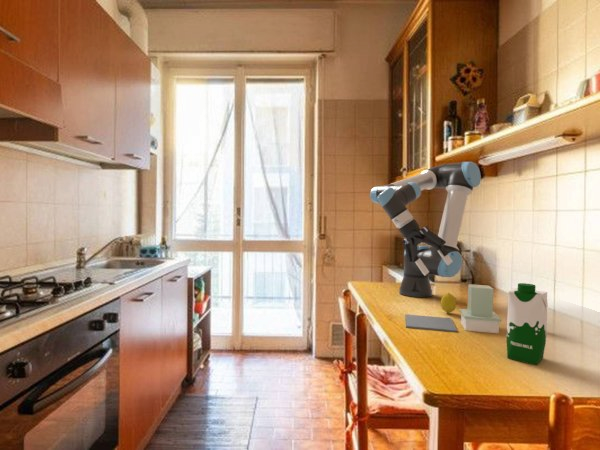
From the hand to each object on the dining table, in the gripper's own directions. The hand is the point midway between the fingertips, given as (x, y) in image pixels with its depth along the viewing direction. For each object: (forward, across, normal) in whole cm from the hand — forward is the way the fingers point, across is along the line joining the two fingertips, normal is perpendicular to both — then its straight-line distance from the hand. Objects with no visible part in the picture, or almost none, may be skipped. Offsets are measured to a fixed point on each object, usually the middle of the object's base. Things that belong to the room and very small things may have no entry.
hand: (438, 268), depth 153 cm
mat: (+12, +3, -21) cm, 25 cm away
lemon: (+16, -5, -4) cm, 18 cm away
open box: (+21, +12, -12) cm, 27 cm away
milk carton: (+26, +35, -27) cm, 51 cm away
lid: (+18, +14, -10) cm, 25 cm away
